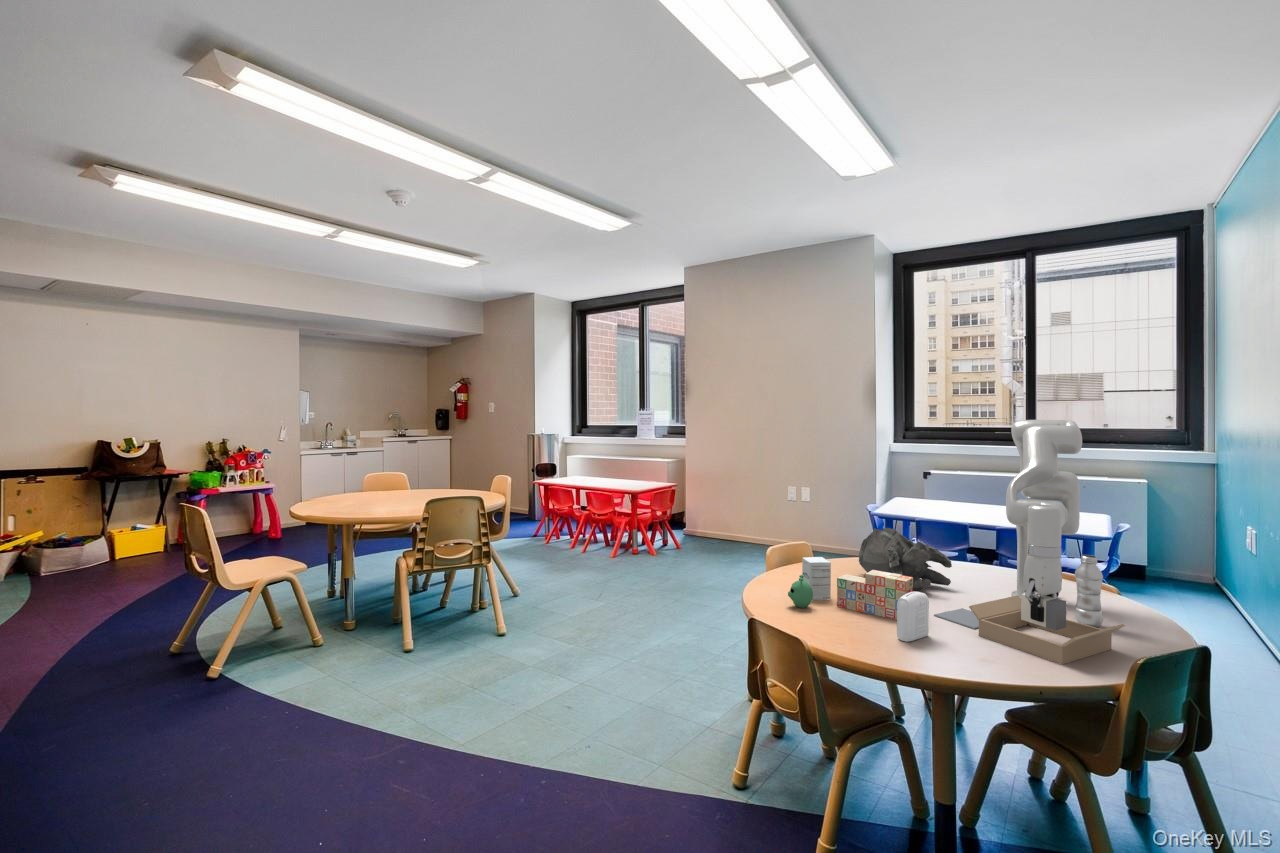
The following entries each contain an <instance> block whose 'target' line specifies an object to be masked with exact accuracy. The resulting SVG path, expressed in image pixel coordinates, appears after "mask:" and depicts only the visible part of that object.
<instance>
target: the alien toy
mask: <svg viewBox="0 0 1280 853" xmlns="http://www.w3.org/2000/svg"><path fill="white" fill-rule="evenodd" d="M803 577H804V576H803V575H802V574H800V575H798V579H797V580H796V581H794V582H793V583H792V584H791V586H790V590H788V592H787V596H788V597H789V598H790V600H791V601H792V604H793V605H794V606H796V607H798V608H800V609H804V608H807V607H808V606H809V605H811V603H812V601H813V600H812V598H813V591H812V588H811V586H810V584H809V583H808V582H806V581H803V580H804V579H803Z"/></svg>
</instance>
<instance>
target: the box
mask: <svg viewBox="0 0 1280 853" xmlns="http://www.w3.org/2000/svg"><path fill="white" fill-rule="evenodd" d="M1036 594H1037V593H1036ZM1035 598H1037V600H1039V597H1037V596H1035ZM1042 607H1044V622H1039V621H1036V620H1032V619H1031V618H1030V611H1031V605H1030V604H1029V600H1028V599H1027V598H1026V597H1025V593H1024V594H1021V620H1024V621H1027V622H1031V623H1034V624H1037V625H1040V626H1043V627H1047V628H1050V629H1053V630H1059V629H1062V628H1066V619H1067V601H1066V600H1063V599H1059V598H1058V597H1057V598H1053V597H1049V596H1046V595H1045V596H1044V599H1043V605H1042Z"/></svg>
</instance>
